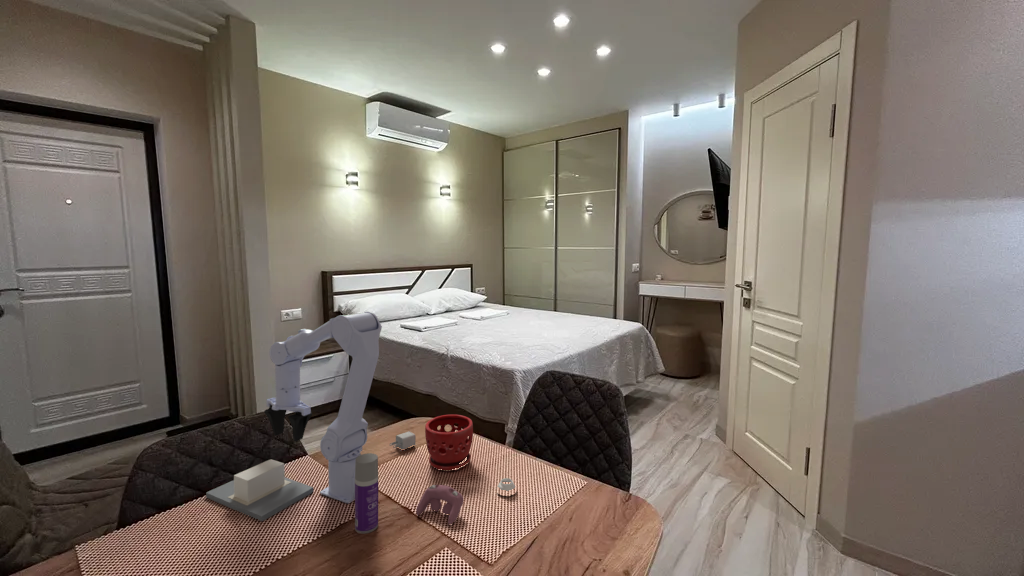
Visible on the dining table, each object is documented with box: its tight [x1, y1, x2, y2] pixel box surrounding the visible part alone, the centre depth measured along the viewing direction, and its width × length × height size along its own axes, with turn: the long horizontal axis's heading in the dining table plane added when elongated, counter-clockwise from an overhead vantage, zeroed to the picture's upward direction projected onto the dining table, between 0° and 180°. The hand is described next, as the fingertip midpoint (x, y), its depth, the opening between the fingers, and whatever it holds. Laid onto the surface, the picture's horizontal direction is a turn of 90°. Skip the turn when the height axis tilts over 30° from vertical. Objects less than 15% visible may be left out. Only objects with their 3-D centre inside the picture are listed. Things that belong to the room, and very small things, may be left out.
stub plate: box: [205, 476, 314, 522], centre depth 99 cm, size 20×13×3 cm, turn 65°
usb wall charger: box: [389, 431, 416, 449], centre depth 125 cm, size 4×7×4 cm, turn 137°
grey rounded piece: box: [497, 477, 516, 491], centre depth 103 cm, size 5×3×5 cm
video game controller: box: [415, 484, 464, 525], centre depth 94 cm, size 10×5×7 cm, turn 66°
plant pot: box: [424, 414, 474, 470], centre depth 116 cm, size 13×13×12 cm
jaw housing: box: [233, 459, 286, 502], centre depth 99 cm, size 5×9×5 cm, turn 155°
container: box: [354, 452, 379, 534], centre depth 88 cm, size 5×5×15 cm
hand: (288, 436), depth 110 cm, fingers open, 7 cm apart
